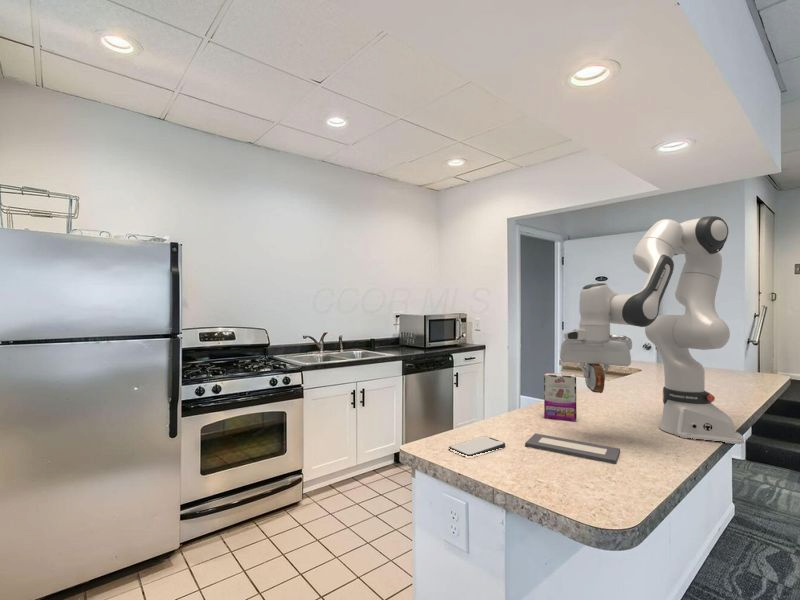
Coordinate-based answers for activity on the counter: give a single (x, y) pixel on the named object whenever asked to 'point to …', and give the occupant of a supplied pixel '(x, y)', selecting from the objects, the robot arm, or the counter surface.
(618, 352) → the robot arm
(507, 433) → the counter surface
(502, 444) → the phone case
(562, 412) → the candy bar box
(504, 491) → the counter surface
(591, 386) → the tin
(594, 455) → the dark gray picture frame
